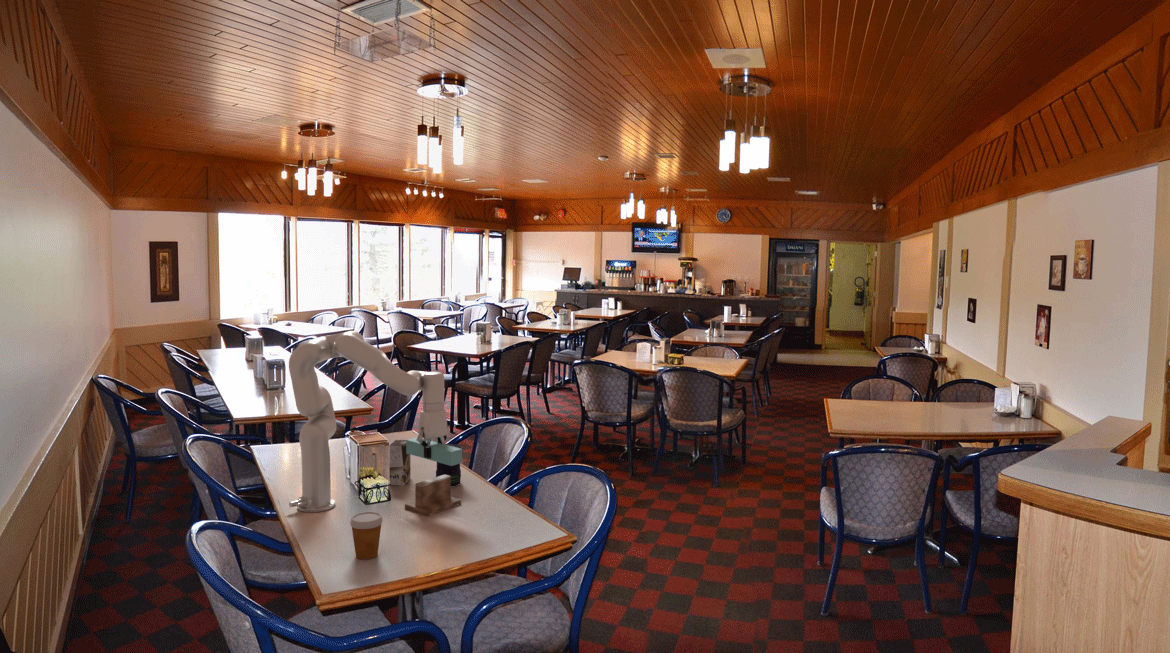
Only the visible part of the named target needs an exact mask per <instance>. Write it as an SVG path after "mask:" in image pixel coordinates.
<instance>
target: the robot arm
mask: <svg viewBox="0 0 1170 653" xmlns="http://www.w3.org/2000/svg"><path fill="white" fill-rule="evenodd" d="M339 357H340V358H341V357H342V358H344V359H346V360H347V361H349V362H351V363H353V364H354V365H357V366H358V367H361V368H362V369H364V370H365V371H367V372H369V373H371V375H372V376H373V377H374V378H376V379H378V381H380V382H381V383H382V384H384V385H385V386H387V387H388V388H390V389H392V390H393V391H395V392H397V393H399V394H401V395H404V396H408V397H409V396H413V395H415V394H417V393H418V392H419V391H422V410H421V411H420V414H419V419H418V433H417V436H416V437H417V439H416V440H417V441H418V442H419V443H420V444H421V445H422V446H423V447H424V457H425V458H428V459H427V460H429V459H430V458H431V448H430V443H431V441H432V440H434V439H436V442H437V443H441V444H446V440H447V439H448V437H449V435H450V434H451V431H450V430H449V429H448V419H447V418H448V417H447V413H446V409H445V405H446V404H447V403H446V401H445V375H444V373H442V372H440V371H422V370H414V369H413V370H409V371H405V370H403V369H401V368H400V367H398V366H397V365H395V364H394V363H392V362H391V360H389V357H388V356H387V354H386V353H385V352H384V351H383V350H382V349H380V348H378V347H377V346H375V345H373V344H371V343H369V342H367V341H365V339H364V337H363V335H362V334H361V333H360V332H358V331H357V330H356V331H355V330H347V331H345V332H340V333H335V334H329V335H324V336H319V337H316V338H313V339H309V340H307V341H305V342H303V343H301V344H300V345H298V346H297V347H296V348H295V349H294V350H293V351H292V353H291V355H290V356H289V359H288V370H289V376H290V379H291V386H292V390H293V396H294V400H295V401H294V402H295V406H296V410H297V411H298V413H299V414H300V415H301V416H303V417H307V419H308V421H307V422H305V423H304V425H302V427H301V429H300V430H299V431H300V432H299V438H298V440H299V447H300V453H301V454H300V455H301V458H300V459H301V491H302V493H301V495H299V497H298V498H297V500H294V501H289V504H288V506H289V508H294V507H295V508H296V507H297V510H299V511H300V512H303V511H304V513H319V512H324V511H329V510H330V509H333V508H334V507H335V506H336V500H335V499H333V498H332V497H331V491H332V490H331V485H332V484H331V480H332V479H331V451H330V444H329V440H330V439H331V438H332V437H333V436H334V435H335V433H336V430H337V420H336V419H337V418H336V414H335V408H334V405H333V399H332V396H331V394H330V392H329V391H328V389H326V387H324V386H322V385H320V384H319V379H318V375H317V371H316V370H315V366H316V365H317V364H319V363H322V362H325V361H326V360H329V359H335V358H339ZM426 441H427V443H426ZM425 458H424V459H425Z"/></svg>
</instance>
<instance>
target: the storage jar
mask: <svg viewBox="0 0 1170 653" xmlns="http://www.w3.org/2000/svg"><path fill="white" fill-rule="evenodd" d="M444 444H445V445H449V446H453V447H457V448H460V449H462V446H461V445H460V444H456V443H444ZM461 473H462V469H461V463H460V464H457V465H453V466H450V465H446V464H443V463H439V462H436V470H435V477H438V476H441V475H445V474H446V475H449V476H451V486H455V487H457V486H456V485H458V484H460V485H461V483H462V482H461V478H462V474H461ZM460 482H461V483H460ZM458 486H459V485H458Z"/></svg>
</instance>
